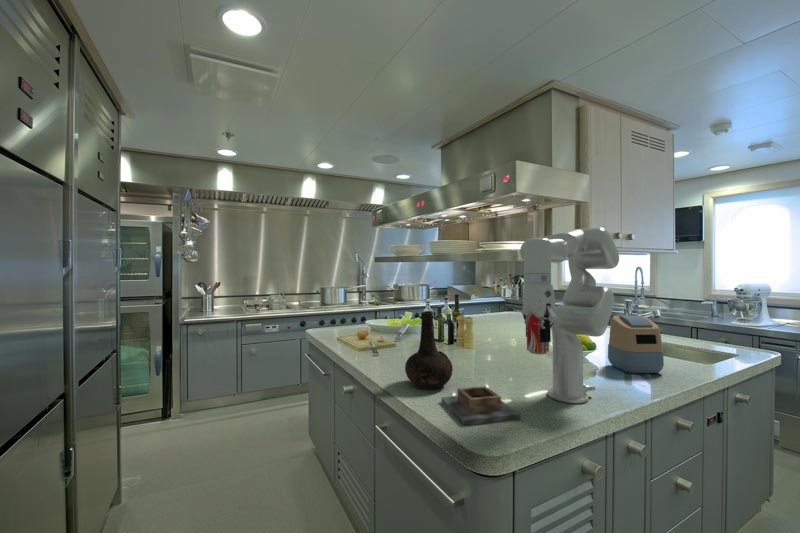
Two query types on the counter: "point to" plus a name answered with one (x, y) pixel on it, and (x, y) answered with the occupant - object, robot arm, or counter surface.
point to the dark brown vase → (428, 359)
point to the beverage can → (535, 336)
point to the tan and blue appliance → (635, 345)
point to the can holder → (479, 406)
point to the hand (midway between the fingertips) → (537, 339)
